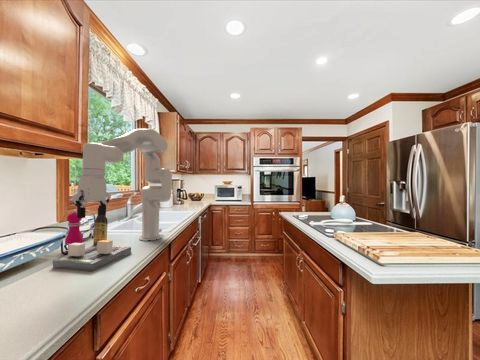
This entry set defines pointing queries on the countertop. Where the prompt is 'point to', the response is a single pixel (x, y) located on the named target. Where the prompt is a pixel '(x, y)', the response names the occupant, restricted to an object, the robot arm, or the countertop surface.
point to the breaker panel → (91, 259)
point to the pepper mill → (74, 229)
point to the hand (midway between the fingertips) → (92, 216)
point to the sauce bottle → (100, 228)
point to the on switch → (76, 249)
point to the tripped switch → (105, 246)
